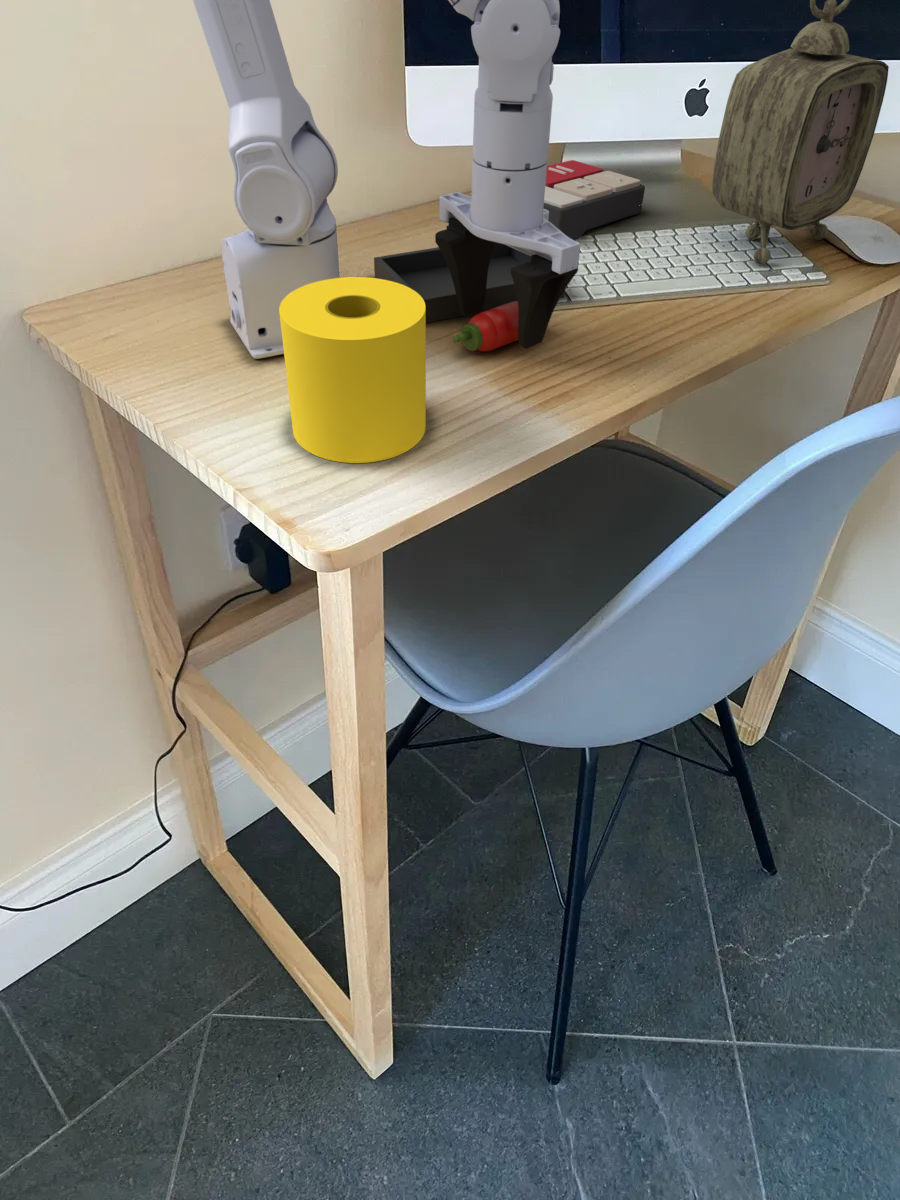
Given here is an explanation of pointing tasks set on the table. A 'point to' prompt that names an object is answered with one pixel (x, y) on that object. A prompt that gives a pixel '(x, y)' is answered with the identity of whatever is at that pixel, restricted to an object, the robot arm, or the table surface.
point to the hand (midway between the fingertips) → (500, 327)
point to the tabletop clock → (798, 131)
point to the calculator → (588, 197)
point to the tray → (449, 278)
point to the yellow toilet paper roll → (355, 367)
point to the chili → (491, 328)
